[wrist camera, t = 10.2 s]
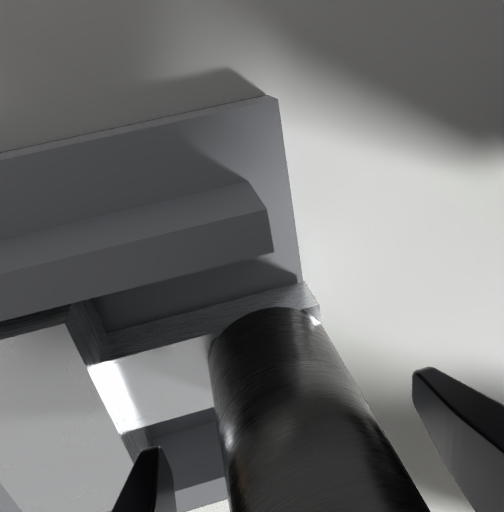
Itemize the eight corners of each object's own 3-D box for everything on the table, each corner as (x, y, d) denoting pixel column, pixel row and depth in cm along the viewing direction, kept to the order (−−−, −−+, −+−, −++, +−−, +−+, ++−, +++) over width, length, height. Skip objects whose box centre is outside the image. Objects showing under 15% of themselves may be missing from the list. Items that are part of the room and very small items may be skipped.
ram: (300, 221, 11) (512, 484, 4) (322, 388, 13) (469, 697, 7) (-46, 306, 10) (-430, 788, 3) (55, 465, 13) (-52, 890, 6)
